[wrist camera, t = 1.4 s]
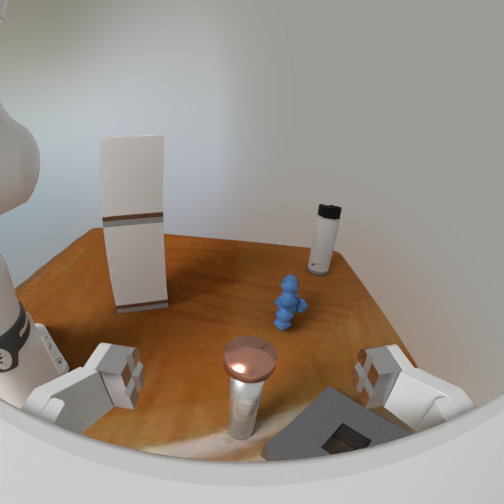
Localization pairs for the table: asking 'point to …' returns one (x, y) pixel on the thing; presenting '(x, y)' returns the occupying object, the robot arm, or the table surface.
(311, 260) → the travel mug
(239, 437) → the steel pin
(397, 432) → the block
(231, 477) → the robot arm
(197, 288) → the table surface
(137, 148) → the striped white pillar
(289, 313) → the grapes
